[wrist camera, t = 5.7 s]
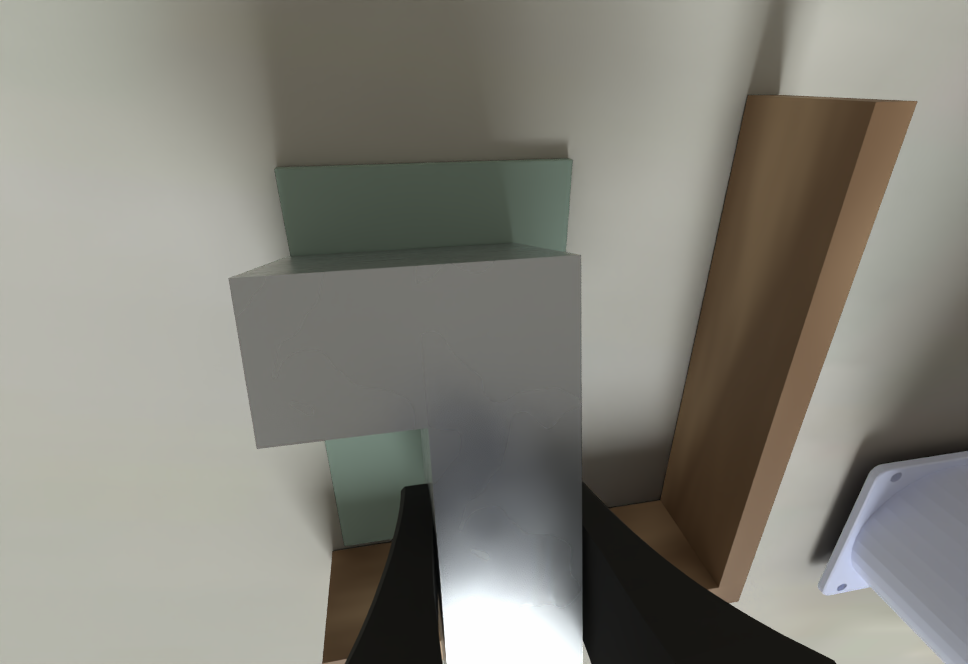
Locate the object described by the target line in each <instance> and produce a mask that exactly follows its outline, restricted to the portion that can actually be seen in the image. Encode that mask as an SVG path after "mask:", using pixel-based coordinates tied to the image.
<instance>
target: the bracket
mask: <svg viewBox="0 0 968 664" xmlns="http://www.w3.org/2000/svg"><path fill="white" fill-rule="evenodd" d="M229 284H230V290H231V296H232V302H233V308H234V314H235V320H236V326H237V332H238V338H239V344H240V350H241V356H242V362H243V368H244V374H245V380H246V386H247V392H248V398H249V404H250V410H251V416H252V422H253V428H254V434H255V440H256V446H257V449H260V448H268V447H276V446H284V445H293V444H301V443H309V442H318V441H326V440H334V439H342V438H351V437H359V436H367V435H375V434H384V433H392V432H400V431H408V430H417V429H421V441H422V453H423V465H424V477H425V484H426V483H428V488H429V494H430V501H431V508H432V515H433V530H434V545H435V560H436V574H437V589H438V620H439V628H440V636H441V644H442V652H443V660H444V664H583V620H582V383H581V255H578V254H573V253H567V252H562V251H556V250H551V249H545V248H540V247H535V246H529V245H524V244H518V243H503V244H486V245H469V246H453V247H436V248H420V249H403V250H386V251H370V252H353V253H336V254H320V255H303V256H288V257H285V258H282V259H280V260H277V261H274V262H271V263H269V264H266V265H263V266H261V267H258V268H255V269H252V270H250V271H247V272H244V273H241V274H239V275H236V276H233V277H231V278H229Z"/></svg>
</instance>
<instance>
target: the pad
mask: <svg viewBox="0 0 968 664" xmlns="http://www.w3.org/2000/svg"><path fill="white" fill-rule="evenodd" d="M572 162H573V160H572V159H569V158H564V159H532V160H499V161H467V162H435V163H402V164H370V165H337V166H305V167H276V168H275V169H274V170H275V176H276V181H277V187H278V192H279V197H280V203H281V208H282V213H283V219H284V224H285V230H286V235H287V240H288V246H289V251H290V256H303V255H320V254H336V253H353V252H370V251H386V250H403V249H420V248H436V247H453V246H469V245H486V244H503V243H518V244H524V245H529V246H535V247H540V248H545V249H551V250H556V251H562V252H566V241H567V228H568V215H569V202H570V189H571V175H572ZM325 444H326V450H327V455H328V461H329V466H330V471H331V477H332V482H333V487H334V493H335V498H336V504H337V509H338V514H339V520H340V525H341V530H342V536H343V541H344V546H350V545H356V544H363V543H369V542H376V541H382V540H389V539H393V536H394V532H395V528H396V523H397V519H398V513H399V507H400V498H401V490H402V489H403V488H404V487H405V486H411V485H419V484H425V477H424V465H423V453H422V441H421V429H417V430H408V431H400V432H392V433H384V434H375V435H367V436H359V437H351V438H342V439H334V440H326V441H325Z"/></svg>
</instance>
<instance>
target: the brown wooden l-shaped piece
mask: <svg viewBox="0 0 968 664" xmlns="http://www.w3.org/2000/svg"><path fill="white" fill-rule="evenodd" d="M916 104H917V101H900V100H878V99H856V98H834V97H812V96H791V95H748V97H747V101H746V106H745V111H744V115H743V120H742V124H741V129H740V134H739V138H738V143H737V147H736V152H735V157H734V161H733V166H732V171H731V175H730V180H729V184H728V189H727V194H726V198H725V203H724V208H723V212H722V217H721V221H720V226H719V231H718V235H717V240H716V245H715V249H714V254H713V258H712V263H711V268H710V272H709V277H708V282H707V286H706V291H705V295H704V300H703V305H702V309H701V314H700V319H699V323H698V328H697V332H696V337H695V342H694V346H693V351H692V356H691V360H690V365H689V369H688V374H687V379H686V383H685V388H684V393H683V397H682V402H681V406H680V411H679V416H678V420H677V425H676V430H675V434H674V439H673V443H672V448H671V453H670V457H669V462H668V467H667V471H666V476H665V480H664V485H663V490H662V494H661V499H660V500H658V501H652V502H645V503H639V504H633V505H626V506H620V507H613V508H609V509H610V510H611V511H612V512H613V513H614V514H615V515H616V516H617V517H618V518H619V519H620V520H621V521H622V522H623V523H625V524H626V525H627V526H628V527H629V528H630V529H631V530H632V531H633V532H634V533H635V534H637V535H638V536H639V537H640V538H641V539H642V540H643V541H645V542H646V543H647V544H648V545H649V546H650V547H652V548H653V549H654V550H655V551H656V552H658V553H659V554H660V555H661V556H662V557H664V558H665V559H666V560H667V561H669V562H670V563H671V564H673V565H674V566H675V567H677V568H678V569H679V570H681V571H682V572H683V573H684V574H686V575H687V576H689V577H690V578H691V579H693V580H694V581H696V582H697V583H698V584H700V585H701V586H703V587H704V588H706V589H707V590H709V591H710V592H712V593H714V594H715V595H717V596H718V597H720V598H721V599H723V600H724V601H726V602H727V603H732V602H737V601H739V598H740V595H741V593H742V590H743V587H744V584H745V581H746V579H747V576H748V573H749V570H750V567H751V565H752V562H753V559H754V556H755V553H756V551H757V548H758V545H759V542H760V540H761V537H762V534H763V531H764V528H765V526H766V523H767V520H768V517H769V514H770V512H771V509H772V506H773V503H774V500H775V498H776V495H777V492H778V489H779V486H780V484H781V481H782V478H783V475H784V472H785V470H786V467H787V464H788V461H789V459H790V456H791V453H792V450H793V447H794V445H795V442H796V439H797V436H798V433H799V431H800V428H801V425H802V422H803V419H804V417H805V414H806V411H807V408H808V405H809V403H810V400H811V397H812V394H813V392H814V389H815V386H816V383H817V380H818V378H819V375H820V372H821V369H822V366H823V364H824V361H825V358H826V355H827V352H828V350H829V347H830V344H831V341H832V338H833V336H834V333H835V330H836V327H837V325H838V322H839V319H840V316H841V313H842V311H843V308H844V305H845V302H846V299H847V297H848V294H849V291H850V288H851V285H852V283H853V280H854V277H855V274H856V271H857V269H858V266H859V263H860V260H861V257H862V255H863V252H864V249H865V246H866V244H867V241H868V238H869V235H870V232H871V230H872V227H873V224H874V221H875V218H876V216H877V213H878V210H879V207H880V204H881V202H882V199H883V196H884V193H885V190H886V188H887V185H888V182H889V179H890V177H891V174H892V171H893V168H894V165H895V163H896V160H897V157H898V154H899V151H900V149H901V146H902V143H903V140H904V137H905V135H906V132H907V129H908V126H909V123H910V121H911V118H912V115H913V112H914V110H915V107H916ZM391 543H392V542H389V543H382V544H376V545H370V546H363V547H357V548H350V549H344V550H338V551H333V553H332V564H331V575H330V585H329V596H328V607H327V618H326V629H325V640H324V651H323V662H322V664H345V662H346V660H347V658H348V656H349V653H350V651H351V649H352V647H353V645H354V643H355V641H356V639H357V637H358V634H359V632H360V630H361V628H362V625H363V623H364V621H365V618H366V616H367V613H368V611H369V609H370V606H371V603H372V601H373V598H374V596H375V593H376V590H377V587H378V584H379V582H380V579H381V576H382V573H383V570H384V567H385V564H386V561H387V558H388V554H389V551H390V547H391ZM438 621H439V620H438ZM439 639H440V647H441V655H442V660H443V652H442V644H441V636H440V628H439Z"/></svg>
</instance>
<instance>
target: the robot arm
mask: <svg viewBox="0 0 968 664" xmlns="http://www.w3.org/2000/svg"><path fill="white" fill-rule="evenodd" d="M868 587H871V588H872V589H873V590H874V591H875V592H876V593H877V594H878V595H879V596H880V597H881V598H882V599H883V600H884V601H885V602H886V603H887V604H888V605H889V606H890V607H891V608H892V609H893V610H894V611H895V613H896V614H897V615H898V616H899V617H900V618H901V619H902V620H903V621H904V622H905V623H906V624H907V625H908V626H909V627H910V628H911V629H912V630H913V631H914V632H915V633H916V634H917V635H918V636H919V637H920V638H921V639H922V640H923V641H924V642H925V643H926V645H927V646H928V647H929V648H930V649H931V650H932V651H933V652H934V653H935V654H936V655H937V656H938V657H939V658H940V659H941V660H942V661H943V662H944V663H945V664H968V451H963V452H957V453H951V454H944V455H938V456H931V457H925V458H918V459H912V460H906V461H899V462H893V463H886V464H881V465H878V466H876V467H874V468H873V469H872V470H871V471H870V473H869V474H868V476H867V479H866V481H865V483H864V485H863V487H862V489H861V492H860V494H859V496H858V498H857V500H856V502H855V505H854V507H853V509H852V511H851V513H850V515H849V518H848V520H847V522H846V524H845V526H844V529H843V531H842V533H841V535H840V537H839V539H838V542H837V544H836V546H835V548H834V550H833V552H832V555H831V557H830V559H829V561H828V563H827V565H826V568H825V570H824V572H823V574H822V576H821V579H820V581H819V583H818V588H819V590H820V591H821V592H822V593H823V594H824V595H833V594H838V593H843V592H848V591H853V590H858V589H863V588H868ZM582 620H583V642H584V644H585V647H586V650H587V652H588V655H589V658H590V661H591V664H836V663H835V661H834V660H832V659H830V658H828V657H826V656H824V655H822V654H820V653H818V652H816V651H814V650H812V649H810V648H808V647H806V646H804V645H802V644H800V643H798V642H796V641H794V640H792V639H790V638H788V637H786V636H784V635H782V634H780V633H778V632H777V631H775V630H773V629H771V628H770V627H768V626H766V625H764V624H762V623H761V622H759V621H757V620H755V619H754V618H752V617H750V616H748V615H747V614H745V613H743V612H742V611H740V610H738V609H737V608H735V607H734V606H732V605H731V604H729V603H727V602H726V601H724V600H723V599H721V598H720V597H718V596H717V595H715V594H714V593H712V592H710V591H709V590H707V589H706V588H704V587H703V586H701V585H700V584H698V583H697V582H696V581H694V580H693V579H691V578H690V577H689V576H687V575H686V574H684V573H683V572H682V571H681V570H679V569H678V568H677V567H675V566H674V565H673V564H671V563H670V562H669V561H667V560H666V559H665V558H664V557H662V556H661V555H660V554H659V553H658V552H656V551H655V550H654V549H653V548H652V547H650V546H649V545H648V544H647V543H646V542H645V541H643V540H642V539H641V538H640V537H639V536H638V535H637V534H635V533H634V532H633V531H632V530H631V529H630V528H629V527H628V526H627V525H626V524H625V523H623V522H622V521H621V520H620V519H619V518H618V517H617V516H616V515H615V514H614V513H613V512H612V511H611V510H610V509H609V508H608V507H607V506H606V505H605V504H604V503H603V502H602V501H601V500H600V499H599V498H598V497H597V496H596V495H595V494H594V493H593V492H592V491H591V490H590V489H589V488H588V487H587V486H586V485H585V484H584V483H583V482H582ZM345 664H443V663H442V655H441V647H440V639H439V621H438V589H437V574H436V560H435V545H434V530H433V515H432V508H431V501H430V494H429V488H428V483H426V484H419V485H411V486H405V487H404V488H403V489H402V490H401V498H400V507H399V513H398V519H397V523H396V528H395V532H394V536H393V540H392V543H391V547H390V551H389V554H388V558H387V561H386V564H385V567H384V570H383V573H382V576H381V579H380V582H379V584H378V587H377V590H376V593H375V596H374V598H373V601H372V603H371V606H370V609H369V611H368V613H367V616H366V618H365V621H364V623H363V625H362V628H361V630H360V632H359V634H358V637H357V639H356V641H355V643H354V645H353V647H352V649H351V651H350V653H349V656H348V658H347V660H346V662H345Z"/></svg>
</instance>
